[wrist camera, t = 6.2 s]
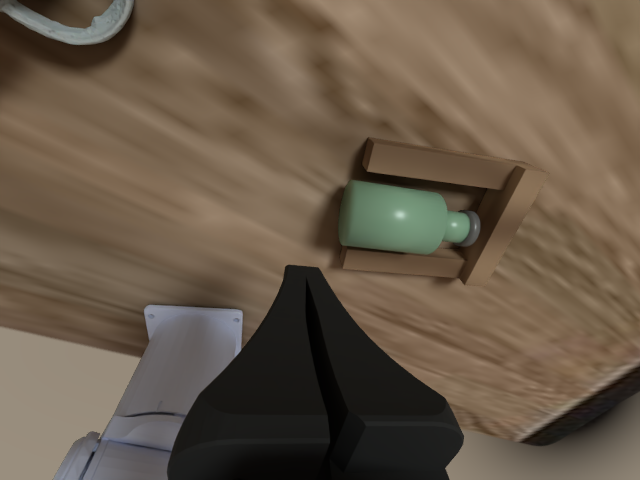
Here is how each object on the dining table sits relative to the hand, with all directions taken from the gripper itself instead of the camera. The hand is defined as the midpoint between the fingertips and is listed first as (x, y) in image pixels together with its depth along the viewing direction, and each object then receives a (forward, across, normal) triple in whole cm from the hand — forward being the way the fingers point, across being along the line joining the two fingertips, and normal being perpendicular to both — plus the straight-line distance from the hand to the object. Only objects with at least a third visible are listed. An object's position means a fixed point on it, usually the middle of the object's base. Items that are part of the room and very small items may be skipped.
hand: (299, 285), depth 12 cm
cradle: (+10, -9, 0) cm, 14 cm away
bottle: (+8, -4, 0) cm, 9 cm away
